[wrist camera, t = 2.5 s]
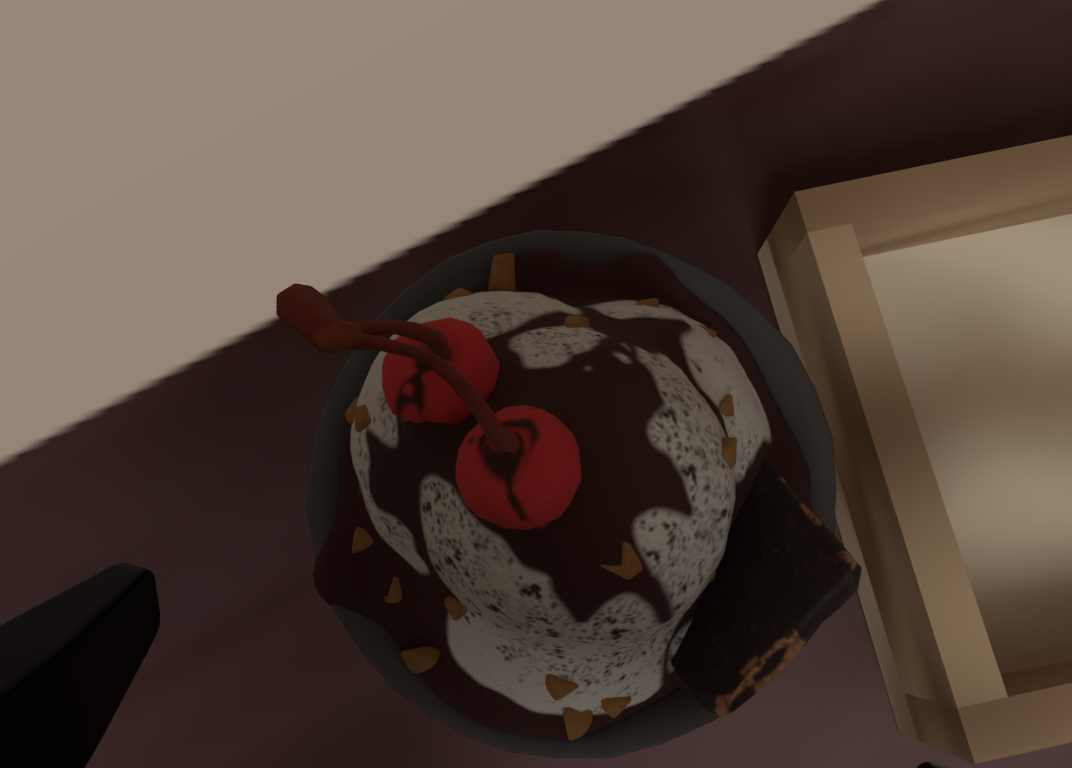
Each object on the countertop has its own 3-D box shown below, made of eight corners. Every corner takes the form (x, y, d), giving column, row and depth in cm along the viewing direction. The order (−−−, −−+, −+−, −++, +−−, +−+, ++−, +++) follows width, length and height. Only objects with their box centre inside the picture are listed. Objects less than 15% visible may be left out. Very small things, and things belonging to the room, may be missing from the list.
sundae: (391, 448, 21) (9, 117, 6) (642, 364, 21) (836, -133, 7) (469, 715, 19) (206, 1099, 5) (740, 619, 20) (1273, 701, 5)
